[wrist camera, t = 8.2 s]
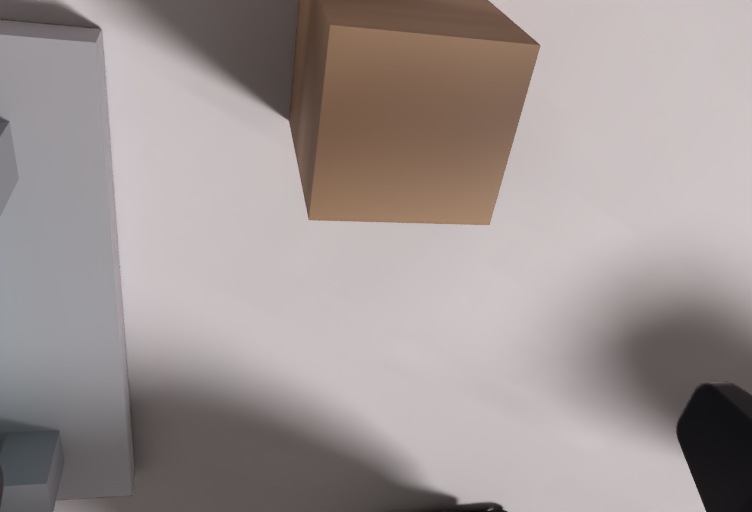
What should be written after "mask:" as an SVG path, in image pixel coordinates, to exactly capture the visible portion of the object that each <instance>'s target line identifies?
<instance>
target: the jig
mask: <svg viewBox="0 0 752 512" xmlns="http://www.w3.org/2000/svg"><path fill="white" fill-rule="evenodd" d="M0 463H1V467H2V470H3V476H4V488H3V496H2V502H1V508H0V512H53V511H54V506H55V502H56V500H69V499H85V498H101V497H117V496H132V491H133V483H134V475H135V467H134V454H133V440H132V427H131V414H130V400H129V387H128V373H127V360H126V346H125V333H124V319H123V306H122V292H121V279H120V265H119V252H118V239H117V225H116V212H115V198H114V185H113V171H112V158H111V144H110V131H109V117H108V104H107V90H106V77H105V64H104V50H103V37H102V29H96V28H85V27H74V26H63V25H52V24H41V23H30V22H19V21H8V20H0Z"/></svg>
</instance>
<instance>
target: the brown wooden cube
mask: <svg viewBox="0 0 752 512" xmlns="http://www.w3.org/2000/svg"><path fill="white" fill-rule="evenodd" d="M539 48H540V44H538V43H537V42H536V41H535V40H534V39H533V38H531V37H530V36H529V35H528V34H527V33H526V32H524V31H523V30H522V29H521V28H520V27H519V26H517V25H516V24H515V23H514V22H513V21H512V20H510V19H509V18H508V17H507V16H506V15H505V14H503V13H502V12H501V11H500V10H499V9H498V8H496V7H495V6H494V5H493V4H492V3H491V2H489V1H488V0H299V6H298V18H297V30H296V43H295V55H294V67H293V79H292V92H291V104H290V116H289V123H290V128H291V133H292V138H293V143H294V148H295V153H296V158H297V163H298V168H299V173H300V178H301V183H302V188H303V193H304V198H305V203H306V208H307V213H308V218H309V220H326V221H362V222H398V223H434V224H470V225H489V224H490V221H491V217H492V214H493V210H494V207H495V203H496V200H497V196H498V193H499V189H500V186H501V182H502V179H503V175H504V172H505V168H506V165H507V161H508V157H509V154H510V150H511V147H512V143H513V140H514V136H515V133H516V129H517V126H518V122H519V119H520V115H521V112H522V108H523V105H524V101H525V98H526V94H527V91H528V87H529V84H530V80H531V76H532V73H533V69H534V66H535V62H536V59H537V55H538V52H539Z"/></svg>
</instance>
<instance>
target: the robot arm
mask: <svg viewBox="0 0 752 512" xmlns="http://www.w3.org/2000/svg"><path fill="white" fill-rule="evenodd" d="M676 432H677V438H678V441H679V443H680V446H681V449H682V451H683V454H684V456H685V459H686V461H687V464H688V466H689V469H690V471H691V474H692V477H693V479H694V482H695V484H696V487H697V489H698V492H699V494H700V497H701V500H702V502H703V505H704V507H705V510H706V512H752V395H751V394H749V393H748V392H746V391H745V390H743V389H741V388H740V387H738V386H736V385H735V384H733V383H730V382H725V381H720V382H705V383H701V384H700V385H698V386H697V387H696V388H695V390H694V391H693V393H692V395H691V397H690V399H689V401H688V402H687V404H686V406H685V408H684V410H683V412H682V413H681V415H680V417H679V419H678V421H677V426H676ZM3 488H4V476H3V470H2V467H1V463H0V508H1V502H2V496H3ZM482 512H507V511H505V510H495V511H482Z"/></svg>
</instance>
